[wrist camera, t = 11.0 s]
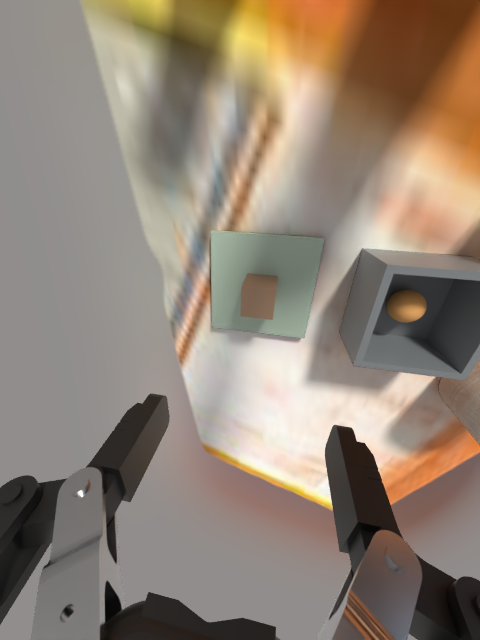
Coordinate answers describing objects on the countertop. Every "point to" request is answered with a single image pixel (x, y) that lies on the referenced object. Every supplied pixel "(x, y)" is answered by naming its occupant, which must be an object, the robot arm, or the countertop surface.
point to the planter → (464, 399)
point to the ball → (406, 306)
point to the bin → (428, 331)
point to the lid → (263, 281)
